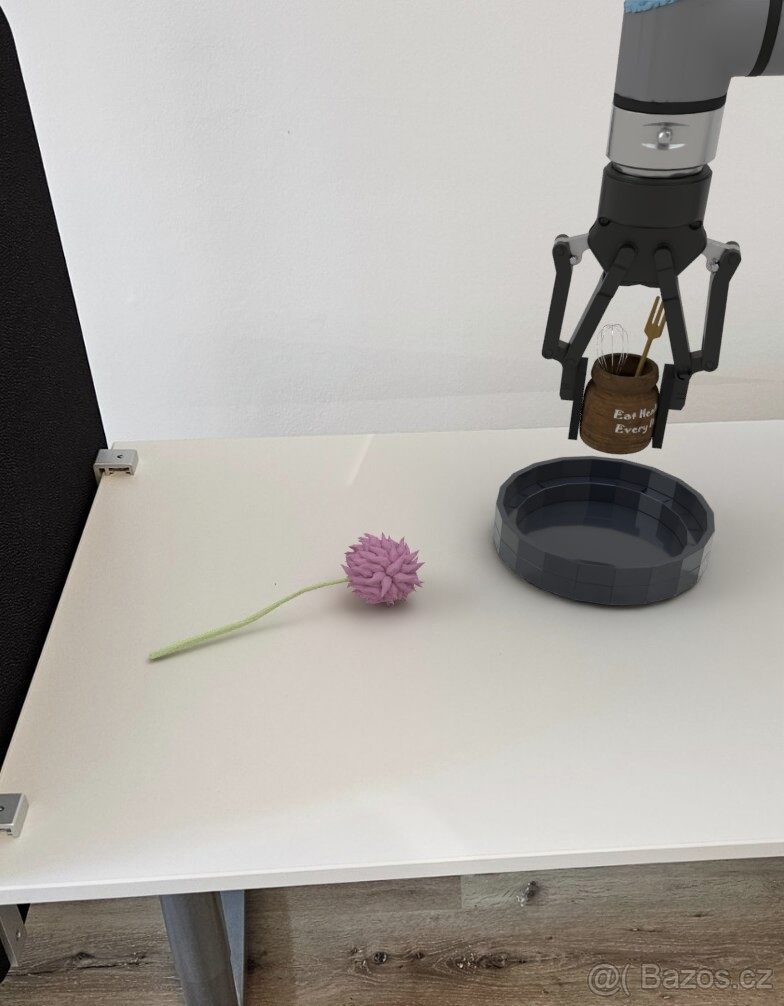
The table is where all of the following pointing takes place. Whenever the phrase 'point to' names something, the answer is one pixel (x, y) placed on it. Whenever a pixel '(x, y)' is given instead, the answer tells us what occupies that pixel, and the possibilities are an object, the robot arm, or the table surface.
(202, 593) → the table surface
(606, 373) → the utensil holder
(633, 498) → the bowl
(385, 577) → the artificial flower
